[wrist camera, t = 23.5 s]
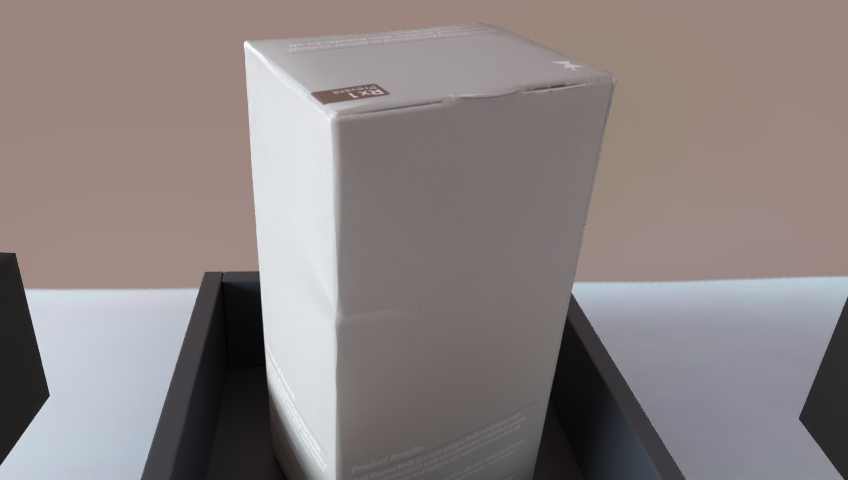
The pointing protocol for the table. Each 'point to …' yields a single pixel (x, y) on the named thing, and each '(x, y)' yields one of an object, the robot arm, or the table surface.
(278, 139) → the cosmetic box
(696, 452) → the table surface
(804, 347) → the table surface
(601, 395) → the box
